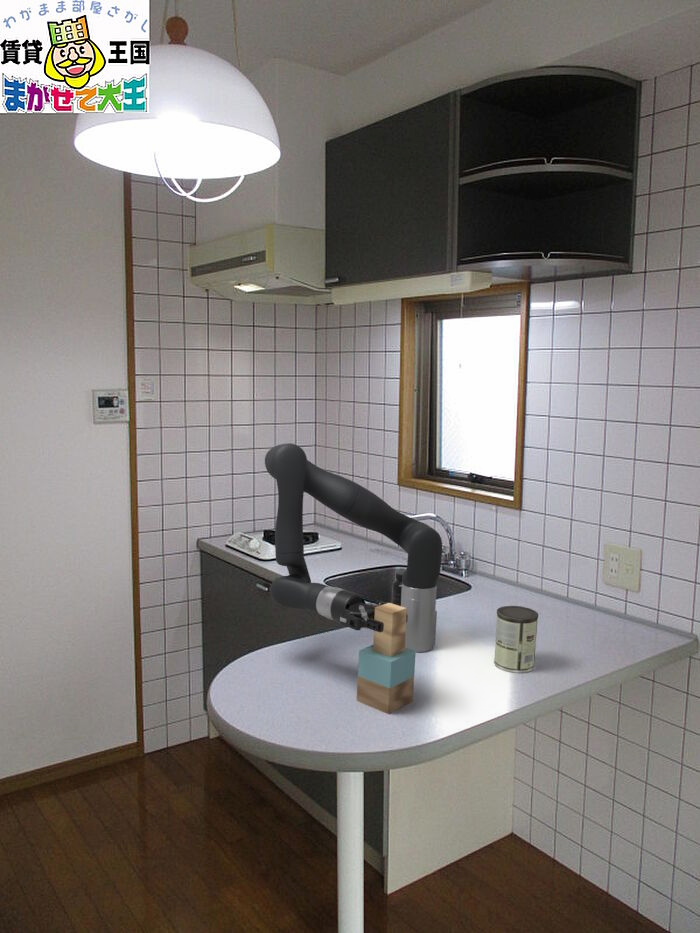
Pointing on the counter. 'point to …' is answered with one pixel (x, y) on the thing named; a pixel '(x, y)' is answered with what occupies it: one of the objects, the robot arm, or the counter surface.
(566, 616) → the counter surface
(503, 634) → the coffee can
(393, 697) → the walnut base block
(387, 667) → the teal top block
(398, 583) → the supplement bottle
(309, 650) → the counter surface
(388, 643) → the oak block
